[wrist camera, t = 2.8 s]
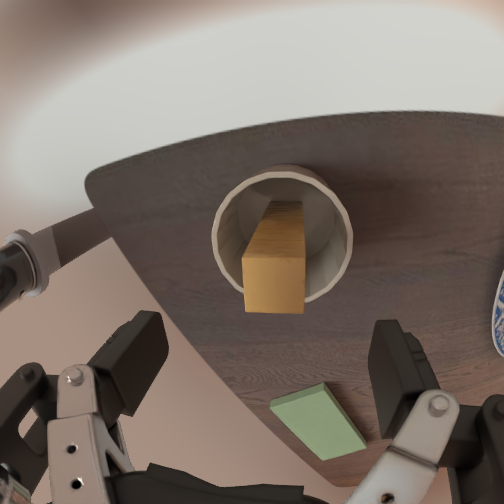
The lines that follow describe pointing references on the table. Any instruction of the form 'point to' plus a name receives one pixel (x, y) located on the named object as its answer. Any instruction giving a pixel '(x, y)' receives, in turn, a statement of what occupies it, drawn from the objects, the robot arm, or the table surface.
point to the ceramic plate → (499, 318)
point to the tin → (315, 225)
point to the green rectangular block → (319, 421)
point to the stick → (276, 261)
